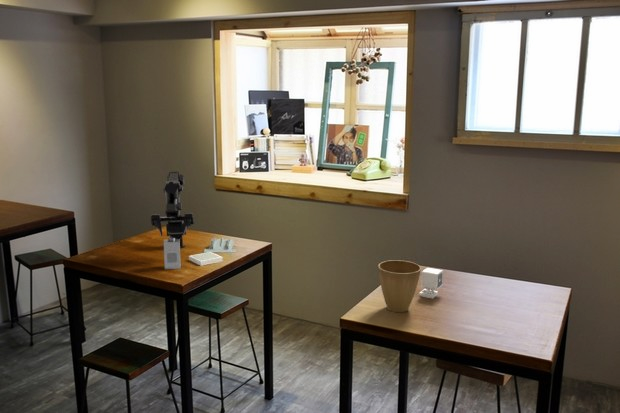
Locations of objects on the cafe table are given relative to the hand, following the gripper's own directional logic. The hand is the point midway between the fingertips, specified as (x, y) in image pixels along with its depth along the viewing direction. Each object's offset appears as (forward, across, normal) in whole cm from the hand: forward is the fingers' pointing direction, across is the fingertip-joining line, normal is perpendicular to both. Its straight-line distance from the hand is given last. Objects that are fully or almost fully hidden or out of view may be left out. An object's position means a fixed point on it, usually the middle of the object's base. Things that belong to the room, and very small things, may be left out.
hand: (172, 235), depth 271 cm
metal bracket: (-4, +22, +23) cm, 32 cm away
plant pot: (+59, +82, -40) cm, 109 cm away
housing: (+14, 0, +4) cm, 14 cm away
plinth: (+8, +14, +10) cm, 19 cm away
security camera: (+50, +99, -32) cm, 115 cm away
